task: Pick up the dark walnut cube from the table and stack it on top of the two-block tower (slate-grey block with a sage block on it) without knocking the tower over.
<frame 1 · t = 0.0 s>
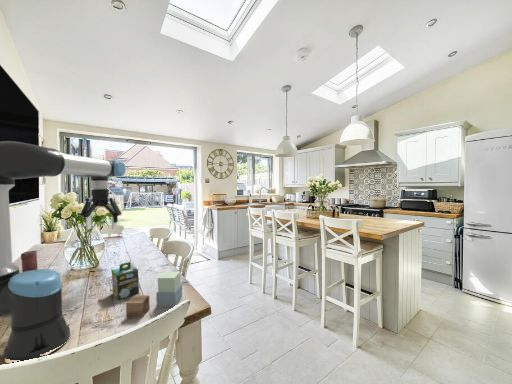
hand: (101, 228, 120), 28 cm above the table, fingers open, 13 cm apart
sage block: (169, 288, 99), point 6 cm above the table, touching slate block
walnut block: (138, 313, 90), on the table
slate block: (169, 302, 99), on the table, touching sage block
can: (30, 277, 129), on the table
chalk box: (125, 293, 107), on the table
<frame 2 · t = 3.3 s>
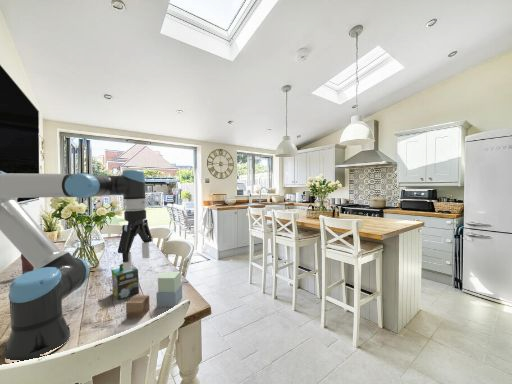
hand: (137, 263, 89), 20 cm above the table, fingers open, 13 cm apart
nothing on the table moved.
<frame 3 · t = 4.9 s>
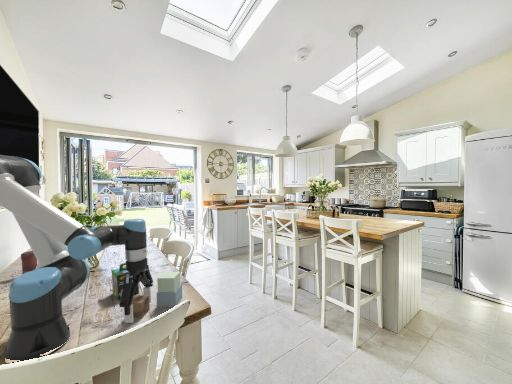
hand: (139, 311, 90), 1 cm above the table, fingers open, 13 cm apart
sage block: (169, 288, 98), point 6 cm above the table
slate block: (170, 302, 99), on the table
everything else where it was.
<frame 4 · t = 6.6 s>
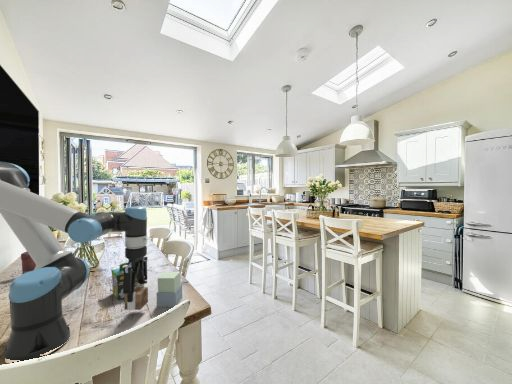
hand: (136, 304, 89), 4 cm above the table, fingers closed on walnut block, 6 cm apart
sage block: (169, 288, 98), point 6 cm above the table, touching slate block
walnut block: (136, 305, 90), point 3 cm above the table, touching gripper
slate block: (170, 302, 99), on the table, touching sage block
everything else where it was.
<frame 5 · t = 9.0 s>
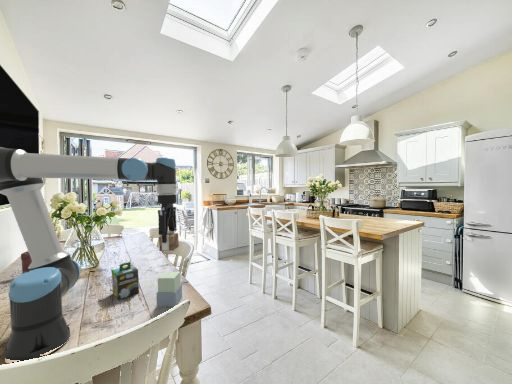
hand: (168, 247, 98), 24 cm above the table, fingers closed on walnut block, 6 cm apart
walnut block: (169, 248, 98), point 23 cm above the table, touching gripper
everything else where it was.
when the fingers open (13 cm above the table, at t = 11.5 s): walnut block stays where it is, resting on sage block.
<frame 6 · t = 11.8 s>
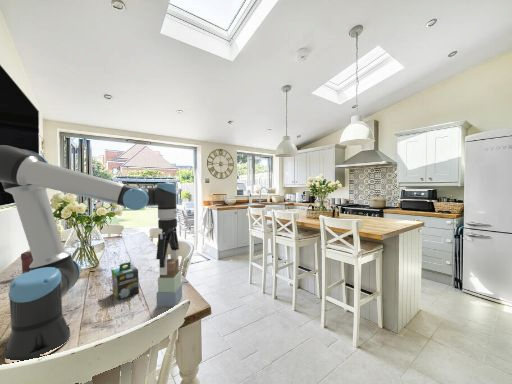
hand: (169, 269, 98), 14 cm above the table, fingers open, 11 cm apart
sage block: (169, 288, 98), point 6 cm above the table, touching slate block, walnut block
walnut block: (169, 274, 98), point 12 cm above the table, touching sage block
everything else where it was.
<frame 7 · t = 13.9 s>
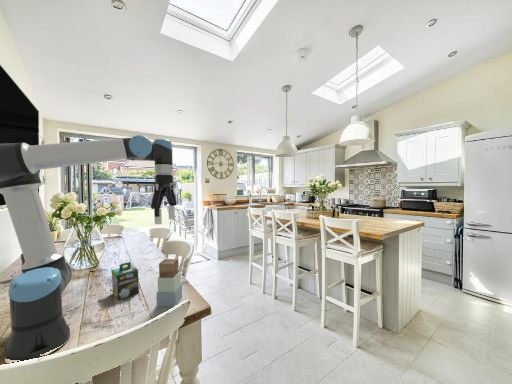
hand: (165, 221, 103), 34 cm above the table, fingers open, 13 cm apart
nothing on the table moved.
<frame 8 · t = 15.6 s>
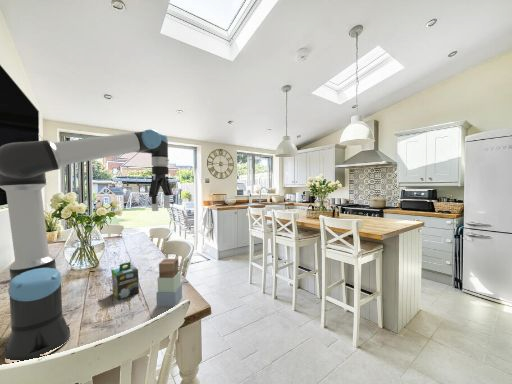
hand: (161, 209, 112), 39 cm above the table, fingers open, 13 cm apart
sage block: (169, 288, 99), point 6 cm above the table, touching slate block
walnut block: (169, 274, 98), point 12 cm above the table
everything else where it was.
at the end: walnut block inside the target area on the slate block (0.1 cm from its centre), point 12.0 cm above the slate block's base; walnut block tilted 0°; sage block tilted 0° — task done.
